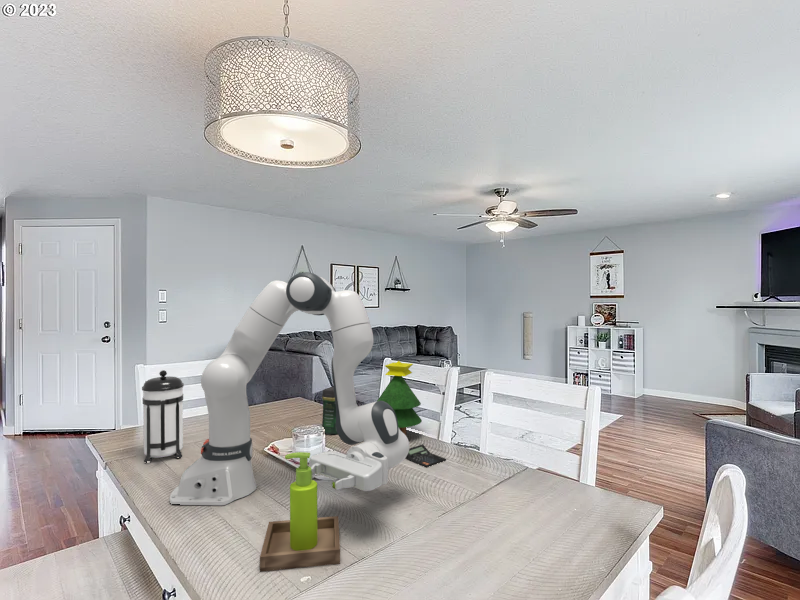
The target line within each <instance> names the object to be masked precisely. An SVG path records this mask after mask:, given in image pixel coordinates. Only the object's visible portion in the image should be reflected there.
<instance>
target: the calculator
mask: <svg viewBox="0 0 800 600" xmlns="http://www.w3.org/2000/svg"><path fill="white" fill-rule="evenodd" d="M406 458H407V460H409V462H412V463H414V464H417V465H418V464H419V465H418V466H421V467H423V466H424V468H430V467H432V465H433V466H435V465H438V464H440V462H441V463H444V462H446V461H447V458H445V457H443V456H439V455H437V454H433V453H431V452H430V450H429V449H428V448H427V447H426V446H425V445H424V443H423V444H419V445H415V446H414V447H409V452H408V455H407V456H406ZM443 461H444V462H443ZM437 463H438V464H437ZM429 466H430V467H429Z"/></svg>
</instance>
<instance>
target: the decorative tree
mask: <svg viewBox="0 0 800 600" xmlns="http://www.w3.org/2000/svg"><path fill="white" fill-rule="evenodd" d="M413 365H414V363H411V362H410V363H408V362H401V361H400V360H398V361H397V362H391V363H388V364H386V365H384V367H385V368H386V369H388V370H387V372H386V373H385V376H393V377H392V378H391V380H390V382H389V383H388V384H387V385H386V387H385V388H384V390H383V392H382V393H381V394H380V395H379V398H378V399H377V400H376V402H377V401H384V402H386V403H388V404H389V405H390V406H391V407H392V408H393V410H394V412H395V414H396V417H397V420H398V427H399V429H400V430H401V431H402V432H403V433H404V434H405V435H406V436H407V428H410V427H416V426H417V425H420V424H421V423H422V420H423V419H422V418H421V417H420V416H419V414H418V413H417V412H416V410H415V409H414V408H418V407H420V406H421V404H422V403H421V401H420V400H419V399H418V397H417V396H416V394H415V393H414V392H413V390H412V388H411V387H410V385H408V383H407V381H406V379H405V378H404V377H406V376H409V375H410V374H412V373H413V372H412V371H411V370H410V368H411V367H412V366H413Z"/></svg>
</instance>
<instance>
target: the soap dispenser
mask: <svg viewBox="0 0 800 600" xmlns="http://www.w3.org/2000/svg"><path fill="white" fill-rule="evenodd" d="M310 458H311V452H307V451H306V452H305V451H297V452H291V453H287V454H285V456H284V459H285V460H291V459H299V466H298V467H296V469H295V481H293V482H292V483H290V485H289V520H290V547H291V548H292V549H293V550H295V551H300V550H310V549H312V548H314V547H315V546H316V545H317V518H318V482H317V481H315V480H314V479H312V478H311V467H310V465H308V460H309V459H310Z"/></svg>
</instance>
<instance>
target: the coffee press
mask: <svg viewBox="0 0 800 600" xmlns="http://www.w3.org/2000/svg"><path fill="white" fill-rule="evenodd" d="M158 375H159V376H158V377H152V378H150V379H148V380H146V381H145V382H144V383H143V386H141V390H142V396H143V397H142V409H143V410H142V411H143V413H142V414H143V417H142V418H143V421H142V422H143V427H142V428H143V454H144V455H145V458H144V460H143V463H144V462H146V463H147V461H151V462H152V460H153V459H154V458H163V457H164V458H165V457H170V456H174V457H175V459H176V458H177V457H179V458H180V459H181V457H182V458H183V454H182V452H181V451H182V449H183V446H184V435H183V434H184V426H183V425H184V423H183V422H184V421H183V420H184V417H183V416H184V415H183V414H184V413H183V412H184V410H183V409H184V408H183V407H184V406H183V405H184V404H183V401H184V393H183V388H184V387H185V384H184V382H183V381H182V379H181V378H179V377H178V376H168V372H167V370H163V369H162V370H160V371H159V373H158ZM146 463H145V464H146Z"/></svg>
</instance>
